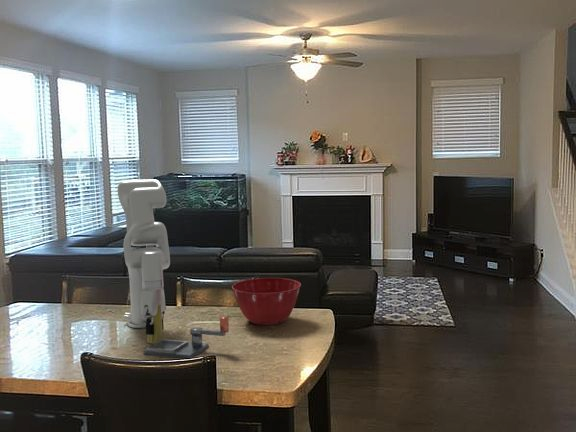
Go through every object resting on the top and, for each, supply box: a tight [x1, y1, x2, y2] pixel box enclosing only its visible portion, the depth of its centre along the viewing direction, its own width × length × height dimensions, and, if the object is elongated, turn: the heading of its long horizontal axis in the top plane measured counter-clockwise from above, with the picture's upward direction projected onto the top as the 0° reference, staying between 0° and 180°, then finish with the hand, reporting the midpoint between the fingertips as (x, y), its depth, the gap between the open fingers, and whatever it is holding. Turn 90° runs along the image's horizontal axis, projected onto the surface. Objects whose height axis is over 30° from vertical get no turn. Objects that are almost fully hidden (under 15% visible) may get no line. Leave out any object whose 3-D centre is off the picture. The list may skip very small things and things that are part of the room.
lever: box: [189, 316, 230, 337], centre depth 213 cm, size 15×4×6 cm, turn 71°
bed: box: [143, 334, 210, 359], centre depth 213 cm, size 18×14×5 cm
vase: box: [146, 304, 164, 345], centre depth 224 cm, size 6×6×14 cm
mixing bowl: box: [231, 277, 302, 326], centre depth 250 cm, size 28×28×16 cm
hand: (154, 331), depth 224 cm, fingers closed on vase, 5 cm apart
